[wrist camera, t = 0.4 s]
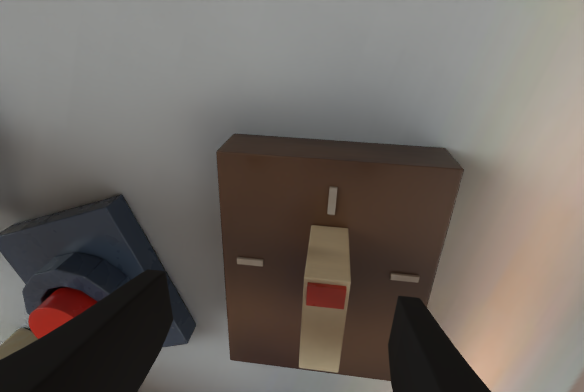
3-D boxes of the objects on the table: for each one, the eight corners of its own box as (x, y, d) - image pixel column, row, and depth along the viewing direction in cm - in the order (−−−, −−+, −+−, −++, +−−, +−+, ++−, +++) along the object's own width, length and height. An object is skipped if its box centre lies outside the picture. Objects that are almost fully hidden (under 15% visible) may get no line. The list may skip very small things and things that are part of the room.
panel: (398, 343, 24) (406, 386, 21) (241, 324, 25) (229, 362, 22) (445, 147, 18) (466, 170, 15) (233, 133, 19) (214, 152, 16)
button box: (196, 325, 25) (176, 367, 22) (97, 341, 27) (66, 380, 24) (122, 194, 21) (84, 223, 18) (12, 224, 23) (-39, 255, 20)
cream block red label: (338, 308, 19) (338, 378, 15) (306, 305, 19) (298, 373, 15) (348, 228, 17) (351, 286, 13) (311, 224, 17) (303, 281, 13)
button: (116, 326, 22) (99, 349, 20) (71, 334, 23) (51, 356, 21) (86, 282, 20) (65, 303, 19) (39, 292, 21) (15, 312, 20)
